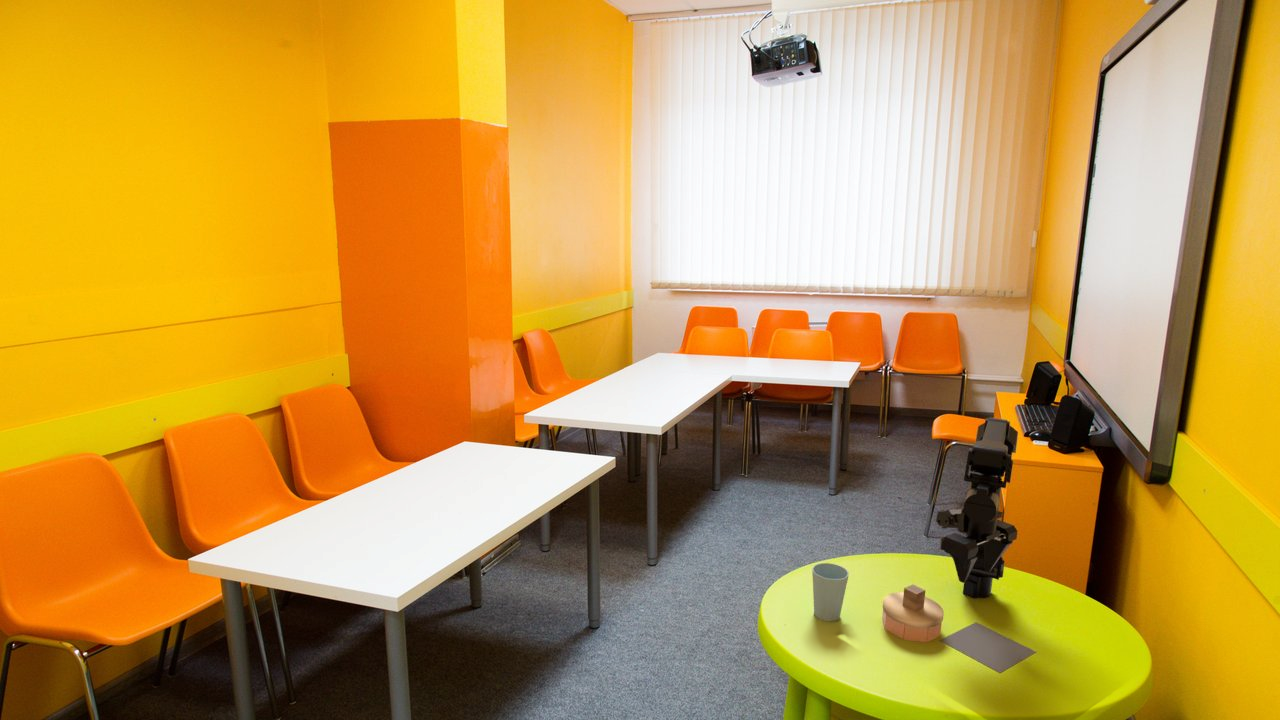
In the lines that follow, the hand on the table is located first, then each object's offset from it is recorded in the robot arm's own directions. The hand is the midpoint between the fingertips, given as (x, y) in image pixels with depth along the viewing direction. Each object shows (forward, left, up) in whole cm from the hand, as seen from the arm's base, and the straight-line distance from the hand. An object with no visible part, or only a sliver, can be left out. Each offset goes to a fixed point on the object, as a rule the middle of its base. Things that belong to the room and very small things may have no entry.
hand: (974, 576), depth 154 cm
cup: (+20, -21, -13) cm, 32 cm away
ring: (+10, -7, -13) cm, 18 cm away
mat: (+3, +6, -13) cm, 15 cm away
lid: (+10, -7, -8) cm, 15 cm away
